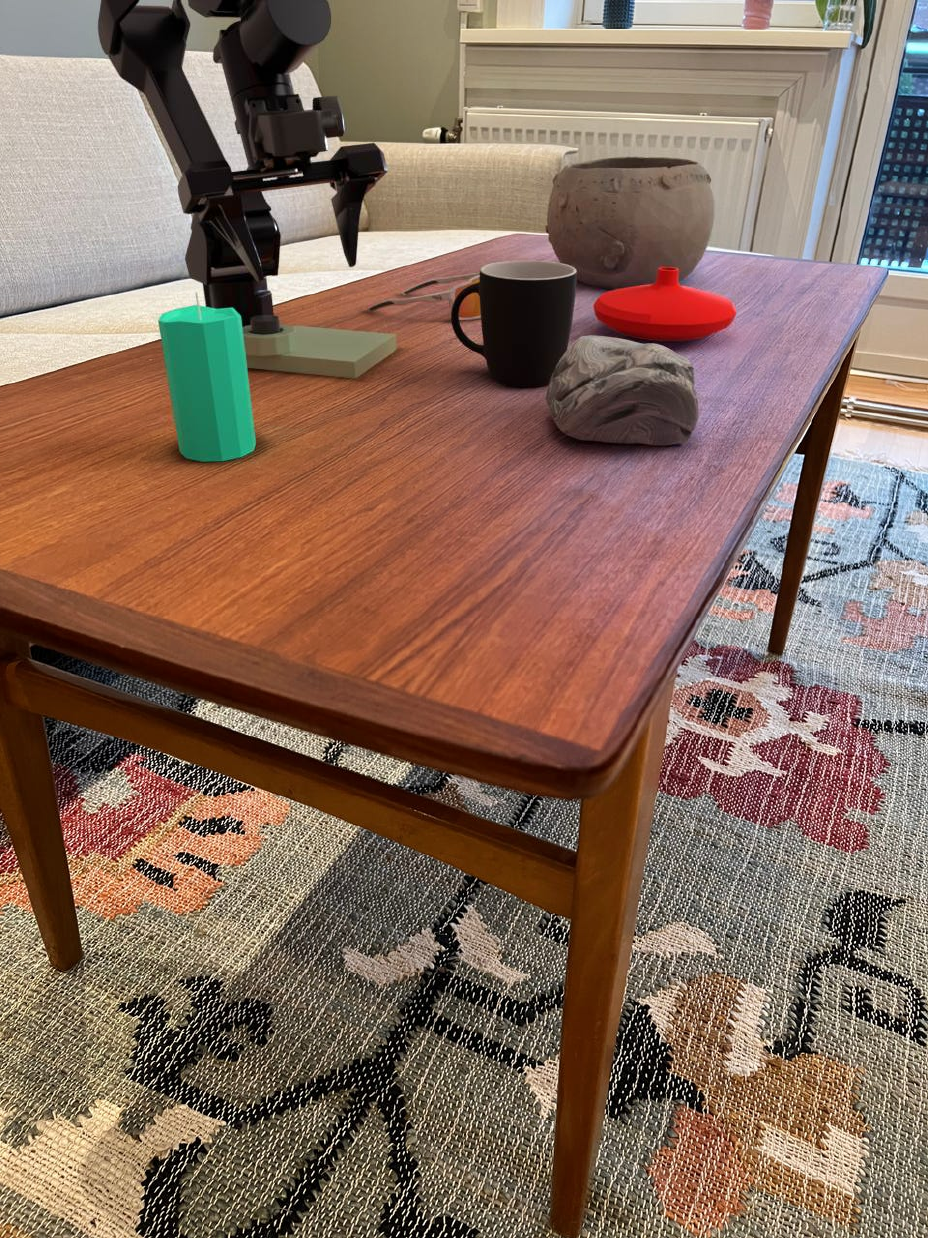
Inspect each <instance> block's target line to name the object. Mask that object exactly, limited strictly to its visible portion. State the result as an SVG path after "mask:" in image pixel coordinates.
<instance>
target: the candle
mask: <svg viewBox="0 0 928 1238" xmlns="http://www.w3.org/2000/svg"><path fill="white" fill-rule="evenodd" d="M195 300H196V304H194V305H193V304H192V305H188V306H184V307H178V308H175V309H171V310H169V311H166V312H163V313H162V314H161V315H160V316H159V318H158V320H157V323H158V328H159V335H160V340H161V346H162V353H163V359H164V365H165V372H166V377H167V382H168V391H169V395H170V401H171V408H172V413H173V420H174V421H173V422H174V427H175V432H176V438H177V439H176V440H177V445H178V451H179V453H180V454H181V455H182V456H183V457H184V458H185V459H188V460H193V461H197V462H202V463H203V462H204V463H205V462H226V461H230V460H231V461H232V460H236V459H239V458H242V457H245V456H246V455H248V454H250V453H252V452H254V451H255V448H256V445H257V437H256V431H255V421H254V413H253V404H252V397H251V389H250V379H249V372H248V368H247V362H246V354H245V345H244V337H243V328H242V320H241V316H240V314H239V313H238V312H237V311H236V310H235V309H234V308H222V309H215V308H210V307H206V305H204V306H203V305H200V300H199V293H198V291H196V292H195Z"/></svg>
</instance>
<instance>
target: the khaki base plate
mask: <svg viewBox="0 0 928 1238" xmlns="http://www.w3.org/2000/svg"><path fill="white" fill-rule="evenodd" d="M242 328H243V337H244V345H245V354H246V362H247V369H256V370H266V371H277V372H287V373H296V374H297V373H298V374H306V375H317V376H327V377H337V378H347V379H357V378H359V377H361V375H363V374H364V373H366V372H367V371H369V370H370V369H371V368H373V367H375V366H376V365H378V363H380V362H381V361H383V360H385V358H388V356H390V355H392V354H393V353H395V351H397V350H398V349H397V347H398V346H397V334H396V333H389V332H388V333H385V332H377V331H376V332H374V331H363V330H353V329H340V328H331V327H316V326H306V325H289V324H285V323H280V333H275V334H268V335H259V334H252V329H251V325H249V326H245V327H242Z"/></svg>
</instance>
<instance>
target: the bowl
mask: <svg viewBox="0 0 928 1238" xmlns="http://www.w3.org/2000/svg"><path fill="white" fill-rule="evenodd" d="M711 182H712V178H711V175H710V173H708V171H707V169H706V168H705V166H703V164H702V163H701V162H698V161H696V160H692V159H686V158H680V157H679V158H678V157H666V156H665V157H664V156H661V157H660V156H658V157H657V156H656V157H654V156H653V157H651V156H650V157H644V156H619V157H617V156H616V157H606V158H599V159H593V160H588V161H582V162H574V163H569V164H567V165H565V166H564V167H563V168H562V169H561V170H560V171H559V172H558V173H556V174H555V176H554V177H553V178H552V184H553V185H552V188H551V192H550V196H549V200H548V205H547V213H546V223H547V225H545V226H544V229H545V233H547V235H548V242H549V243H550V244H551V247H552V250H553V252H554V253H555V256H556V257H557V259H558V261H559V263H562V264H566V265H569V266H572V267H574V268H575V269H576V271H577V281H579V282H580V283H582V284H584V285H588V286H592V287H598V288H606V289H621V288H628V287H634V286H640V285H649V284H654V283H656V280H657V274H658V268H660V267H674V268H678V269H679V273H678V283H681V282H683V281H684V280H685V279H686V278H687V277H688V276H690V275H691V274H692V273H693V272H694V270H695V269H696V268H697V266H698V265H699V263H700V262H701V260H702V259H703V257H704V255H705V253H706V250H707V248H708V245H709V242H710V240H711V236H712V233H713V228H714V222H715V219H716V218H715V217H716V200H715V192H714V190H713V186H712V183H711Z"/></svg>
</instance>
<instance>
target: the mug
mask: <svg viewBox="0 0 928 1238" xmlns="http://www.w3.org/2000/svg"><path fill="white" fill-rule="evenodd" d="M479 272H480V279H479V282H478V283H475V284H472V285H470V286H468V287H466V288H465V289H463V290H462V291H461V292H460V293H459V295H458V296H457V297H456V299H455V301H454V303H453V306H452V311H451V315H450V321H451V322H450V323H451V327H452V330H453V333H454V334H455V336H456V339H458V341H459V342H460V343H461V344H462V345H463V346H464V347H465V348H467V349H468V350H470V351H472V352H474V353H476V354H479V355H480V356H481V357H483V358H484V359H485V361H486V366H487V370H488V372H489V375H490V376H491V378H492V380H494V381H495V382H497V383H499V384H501V385H505V386H508V387H515V388H539V387H544V386H548V385H549V383H550V380H551V377H552V374H553V372H554V370H555V368H556V366H557V364H558V362H559V360H560V359H561V357H562V356H563V355H564V353H565V352H566V351H567V350H568V348H569V343H570V342H569V341H570V336H571V331H572V326H573V325H572V324H573V316H574V309H575V302H576V292H577V283H578V282H577V281H578V280H577V271H576V269H575V268H574V267H572V266H569V265H566V264H562V263H560V262H557V261H556V262H555V261H548V260H528V259H526V260H525V259H521V260H520V259H519V260H518V259H517V260H505V261H504V260H502V261H497V262H491V263H488V264H487V263H486V264H484V265H482V266H481V267H480V269H479ZM472 293H478V295H479V297H480V312H481V318H480V324H481V335H482V342H483V344H478V343H476V342H474V341H473V340H471V339H470V338H469V337H468V336H467V334H466V333H465V332H464V331H463V328H462V325H461V323H460V320H459V309H460V306H461V303H462V302H463V300H464V299H465V298H466V297H467V296H468V295H469V294H472Z"/></svg>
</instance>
